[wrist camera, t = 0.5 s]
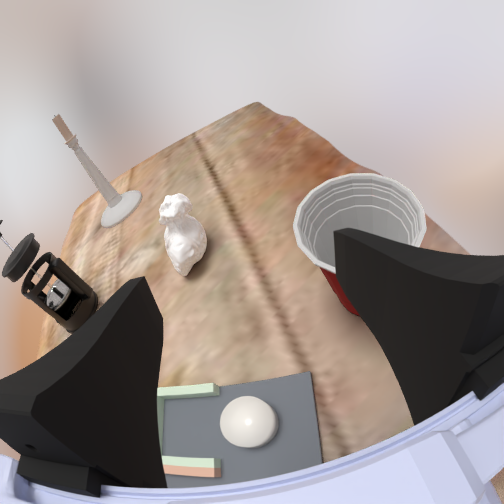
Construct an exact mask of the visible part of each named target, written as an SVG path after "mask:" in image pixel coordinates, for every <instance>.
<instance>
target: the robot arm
mask: <svg viewBox="0 0 504 504" xmlns="http://www.w3.org/2000/svg"><path fill="white" fill-rule="evenodd" d="M333 234H334V251H335V271H336V278H337V280H338V282H339V284H340V286H341V288H342V290H343V292H344V293H345V295H346V297H347V298H348V300H349V301H350V302H351V304H352V305H353V307H354V308H355V309H356V311H357V312H358V314H359V315H360V316H361V318H362V319H363V320H364V322H365V323H366V325H367V326H368V327H369V329H370V330H371V331H372V333H373V334H374V336H375V337H376V339H377V341H378V342H379V344H380V346H381V347H382V349H383V351H384V353H385V355H386V357H387V359H388V361H389V363H390V365H391V367H392V369H393V371H394V373H395V376H396V378H397V380H398V382H399V385H400V387H401V390H402V392H403V395H404V397H405V400H406V402H407V405H408V408H409V411H410V413H411V416H412V420H413V423H414V426H413V427H411V428H409V429H407V430H405V431H403V432H401V433H399V434H397V435H395V436H393V437H391V438H388V439H386V440H384V441H382V442H379V443H377V444H375V445H372V446H370V447H368V448H365V449H363V450H360V451H357V452H355V453H352V454H349V455H347V456H344V457H341V458H338V459H335V460H332V461H329V462H326V463H323V464H320V465H316V466H313V467H309V468H306V469H302V470H298V471H294V472H290V473H286V474H282V475H277V476H273V477H268V478H263V479H258V480H252V481H246V482H240V483H232V484H225V485H216V486H205V487H191V488H168V487H167V482H166V477H165V473H164V468H163V462H162V455H161V448H160V441H159V430H158V415H157V389H158V380H159V371H160V363H161V355H162V347H163V317H162V315H161V313H160V311H159V309H158V306H157V304H156V302H155V300H154V297H153V295H152V293H151V290H150V288H149V286H148V283H147V281H146V279H145V276H143V277H139V278H135V279H131V280H129V281H128V282H126V283H125V284H124V285H123V286H122V287H121V288H120V289H118V290H117V291H116V292H115V293H114V294H113V295H112V296H111V297H110V298H109V299H108V300H107V302H106V303H105V304H104V305H103V306H102V307H101V308H100V309H99V310H98V311H97V312H96V313H95V314H93V315H92V316H91V317H90V318H89V319H88V320H87V321H86V322H85V323H84V324H83V325H82V326H81V327H80V328H79V329H78V330H77V331H75V332H74V333H73V334H72V335H71V336H69V337H68V338H67V339H66V340H65V341H63V342H62V343H61V344H60V345H58V346H57V347H55V348H54V349H53V350H51V351H50V352H48V353H47V354H45V355H44V356H43V357H41V358H40V359H38V360H37V361H35V362H33V363H32V364H30V365H28V366H27V367H25V368H23V369H21V370H19V371H17V372H16V373H14V374H12V375H9V376H8V377H5V378H3V379H1V380H0V438H1V439H2V440H3V441H4V442H6V443H7V444H8V445H9V446H10V447H12V448H13V449H14V450H16V451H17V452H18V453H20V454H21V456H20V460H19V461H17V460H15V459H14V458H11V457H9V456H5V455H2V454H0V504H502V502H501V500H500V498H499V496H498V494H497V492H496V490H495V488H494V486H493V485H492V483H491V481H490V479H491V478H493V477H494V476H495V475H496V474H497V473H498V472H499V471H500V470H501V469H502V468H503V467H504V255H500V256H476V255H463V254H454V253H446V252H439V251H434V250H429V249H424V248H420V247H415V246H412V245H408V244H404V243H401V242H397V241H394V240H391V239H387V238H384V237H381V236H378V235H375V234H372V233H368V232H365V231H362V230H358V229H354V228H344V229H340V230H335V231H333Z"/></svg>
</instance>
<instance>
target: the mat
mask: <svg viewBox="0 0 504 504" xmlns="http://www.w3.org/2000/svg"><path fill="white" fill-rule="evenodd" d="M242 396H253V397H256V398H259V399H261V400H262V401H264V402H266V403H267V404H269V405H270V406H271V407H272V408H273V409H274V410H275V412H276V414H277V416H278V421H279V425H278V430H277V433H276V435H275V437H274V438H273V439H272V440H271V441H270V442H269V443H268V444H266V445H264V446H262V447H258V448H246V447H240V446H236V445H234V444H232V443H230V442H229V441H228V440H227V439H226V438H225V437H224V436H223V434H222V431H221V428H220V418H221V414H222V412H223V410H224V408H225V407H226V406H227V405H228V404H229V403H230V402H231V401H232V400H234V399H236V398H239V397H242ZM162 456H172V457H188V458H217V459H221V477H199V476H186V475H176V474H167V473H165V477H166V482H167V487H168V488H191V487H205V486H216V485H225V484H232V483H240V482H246V481H252V480H258V479H263V478H268V477H273V476H277V475H282V474H286V473H290V472H294V471H298V470H302V469H306V468H309V467H313V466H316V465H320V464H323V462H322V453H321V444H320V436H319V428H318V420H317V413H316V405H315V398H314V391H313V384H312V377H311V372H310V371H308V372H304V373H299V374H294V375H289V376H284V377H279V378H274V379H268V380H262V381H256V382H249V383H243V384H236V385H228V386H220V387H219V395H218V396H207V397H195V398H179V399H165V400H164V416H163V438H162Z"/></svg>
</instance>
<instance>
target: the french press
mask: <svg viewBox="0 0 504 504" xmlns="http://www.w3.org/2000/svg"><path fill="white" fill-rule="evenodd" d="M2 221H3V220H0V224H1V223H2ZM0 238H1V239H2V240H3V241H4V243H5V244H6V245H7V246H8V247H9V248H10V249H11V250H12V251H13V252H12V254H11V255H10V257H9V258H8V260H7V262H6V264H5V266H4V268H3V271H2V276H3V277H8V278H9V279H10V280H11V281H12V282H16V281H17V280H18V279H19V278H21V277H22V275H23V274H24V273H25V272H26V271H27V269H28V268H30V270H29V272H28V274H27V275H26V277H25V279H24V282H23V285H22V289H21V292H22V294H23V295H24V296H25V297H27V298H28V299H31V300H32V301H34V302H35V303H36V304H37V305H38V306H39V307H41V308H42V309H43V310H44V311H46V312H47V313H48V314H49V315H51V316H52V317H53V318H55V320H56V321H57V323H59V324H60V325H62V326H63V327H64V328H66V330H67V331H68V332H69V333H72V334H73V333H74V332H75V331H77V330H78V329H79V328H80V327H81V326H82V325H83V324H84V323H85V322H86V321H87V320H88V319H89V318H90V317H91V316H92V315H93V314H95V311H96V308H97V304H98V297H97V295H96V293H95V292H94V291H93V289H92V288H91V287H90V286H89V285H88V284H86V283H85V282H84V281H83V280H82V279H81V278H80V277H79V276H78V275H77V274H76V273H75V272H74V271H73V270H72V269H70V268H69V267H68V266H67V265H66V264H65V263H64V262H63V261H62V260H61V259H60V258H56V257H55V256H54V255H53V254H52V253H51V252H48V253H45V254H44V255H42V256H41V257H40V258H39V259H38V260H37V261H36V263H35V264H34V265H33V266H32V267H31V266H30V265H31V264H32V262H33V260H34V259H35V257H36V255H37V253H38V251H39V247H40V245H39V243H38V242H37V241H36V240H35V239H34V234H33V233H31V234H29V235H27V236H26V237H25V238H24V239H23V240H22V241H21V242H20V243H19V244H18V245H17V247H16V248H15V249H13V248H12V247H11V246H10V245H9V244H8V243H7V242H6V241H5V240H4V238H3V237H2V234H1V233H0ZM45 262H47V263H48V264H49V266H48V268H47V270H46V272H45V274H44V275H43V277H41V276H40V275H39V274H38V273H37V270H38V269H39V268H40V266H42V265H43V264H44V263H45ZM35 274H36V275H38V277H40V278H41V280H40V281H39V283H38V284H37V285H35V284H34V283H33V282H31V280H32V278H33V276H34V275H35ZM53 274H54V275H55V276H56V277H57V278H58V279H57V280H56V281H55V283H54V284H53V285H52V286H51V285H50V284H49V283H48V282H49V280H50V278H51V277H52V275H53ZM46 285H48V286H49V287H51V288H50V290H49V291H48V293H47V295H46V294H45V293H44V292H43V291H42V290H43V288H44V287H45V286H46ZM28 289H29V290H30V292H29V293H27V290H28ZM79 299H82V302H81V304H80V306H79V307H78V309H77V310H76V312H75V313H74V314H73V315H72V316H71V317H70V318H69V316H70V312H71V310H72V308H73V306H74V305H75V304H76V302H77V301H78V300H79Z"/></svg>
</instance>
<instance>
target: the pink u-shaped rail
mask: <svg viewBox="0 0 504 504" xmlns="http://www.w3.org/2000/svg"><path fill="white" fill-rule="evenodd" d="M163 468H164V473H167V474H176V475H186V476H199V477H221V468H205V467H186V466H174V465H164V464H163Z"/></svg>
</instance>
